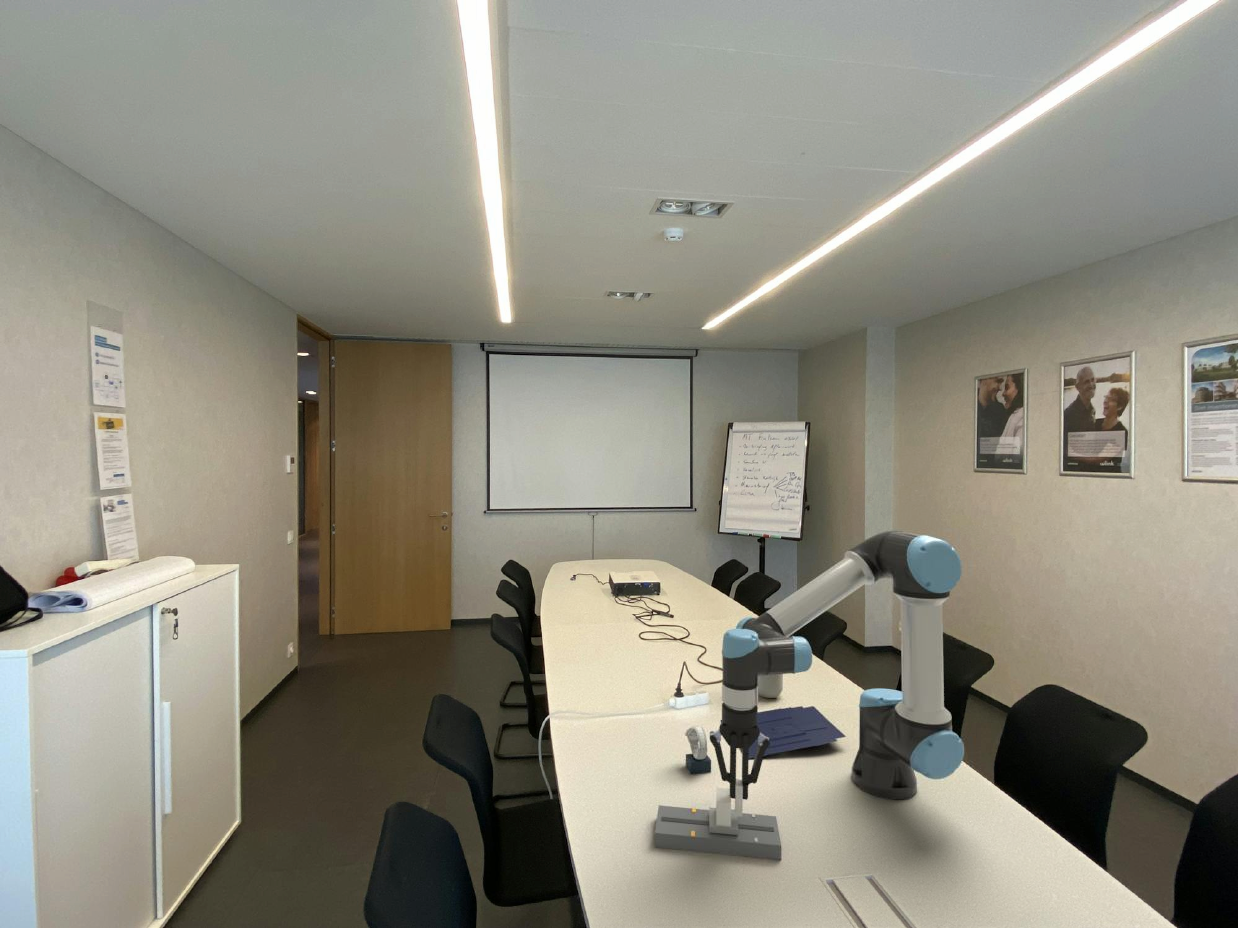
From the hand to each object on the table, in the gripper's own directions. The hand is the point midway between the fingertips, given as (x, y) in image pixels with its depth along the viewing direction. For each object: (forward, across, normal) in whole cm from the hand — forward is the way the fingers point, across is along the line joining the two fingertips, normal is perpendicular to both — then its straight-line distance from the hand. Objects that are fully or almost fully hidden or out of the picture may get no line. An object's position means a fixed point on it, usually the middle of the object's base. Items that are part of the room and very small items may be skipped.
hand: (738, 812), depth 128 cm
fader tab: (+3, +3, 0) cm, 4 cm away
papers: (+6, -15, -50) cm, 53 cm away
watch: (+6, +9, -28) cm, 30 cm away
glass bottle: (+6, -14, -80) cm, 81 cm away
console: (+6, +5, 0) cm, 8 cm away
